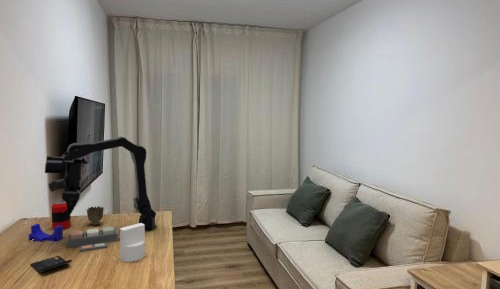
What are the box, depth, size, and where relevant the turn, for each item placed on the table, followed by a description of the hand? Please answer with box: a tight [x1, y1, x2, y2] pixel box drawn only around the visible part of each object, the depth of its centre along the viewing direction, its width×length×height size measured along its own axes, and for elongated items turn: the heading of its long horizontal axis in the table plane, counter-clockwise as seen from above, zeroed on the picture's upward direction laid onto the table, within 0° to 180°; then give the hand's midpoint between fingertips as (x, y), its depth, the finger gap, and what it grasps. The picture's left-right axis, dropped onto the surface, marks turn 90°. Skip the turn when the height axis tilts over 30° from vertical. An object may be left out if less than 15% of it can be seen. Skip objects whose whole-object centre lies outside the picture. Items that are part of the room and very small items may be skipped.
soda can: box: [50, 200, 72, 230], centre depth 154 cm, size 8×8×12 cm
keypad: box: [65, 228, 120, 249], centre depth 140 cm, size 20×8×3 cm, turn 117°
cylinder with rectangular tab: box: [119, 222, 146, 263], centre depth 127 cm, size 9×9×12 cm
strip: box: [79, 242, 108, 253], centre depth 133 cm, size 10×3×1 cm, turn 117°
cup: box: [86, 205, 104, 226], centre depth 159 cm, size 8×7×8 cm
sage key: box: [101, 226, 115, 235], centre depth 143 cm, size 4×4×2 cm
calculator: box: [29, 254, 72, 274], centre depth 118 cm, size 9×12×3 cm
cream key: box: [86, 228, 99, 237], centre depth 140 cm, size 4×4×2 cm
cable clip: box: [28, 223, 64, 243], centre depth 140 cm, size 12×4×6 cm, turn 84°
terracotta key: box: [70, 230, 84, 239], centre depth 137 cm, size 4×4×2 cm
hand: (70, 210), depth 137 cm, fingers open, 9 cm apart
